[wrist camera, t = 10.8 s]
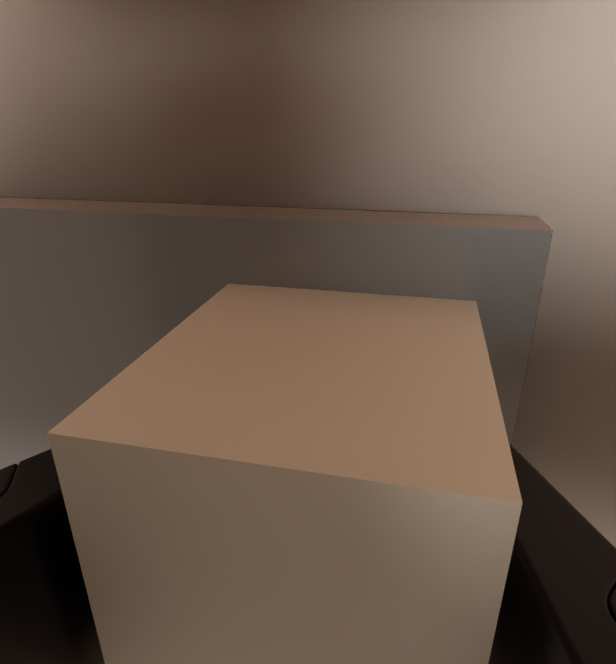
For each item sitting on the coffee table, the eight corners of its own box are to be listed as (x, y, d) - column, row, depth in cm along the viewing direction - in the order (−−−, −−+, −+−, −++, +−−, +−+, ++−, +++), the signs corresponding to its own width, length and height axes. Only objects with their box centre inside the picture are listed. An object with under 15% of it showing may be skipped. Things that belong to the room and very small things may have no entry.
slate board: (484, 518, 12) (490, 558, 11) (-165, 417, 16) (-209, 439, 15) (538, 217, 9) (553, 230, 8) (-267, 187, 13) (-330, 194, 12)
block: (447, 505, 10) (458, 802, 6) (241, 474, 11) (116, 709, 7) (476, 301, 9) (522, 502, 4) (228, 283, 10) (46, 432, 5)
